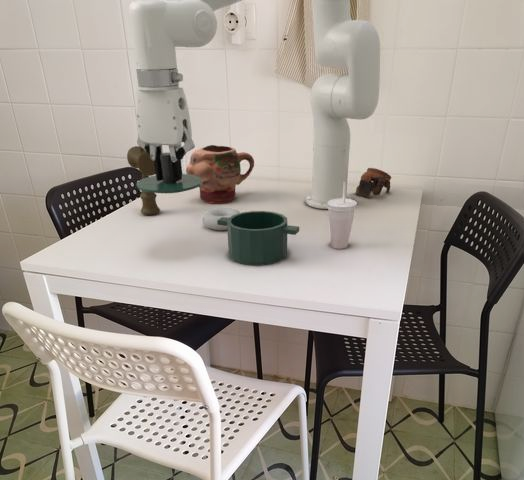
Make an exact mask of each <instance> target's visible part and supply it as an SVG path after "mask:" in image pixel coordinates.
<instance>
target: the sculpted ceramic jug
mask: <svg viewBox="0 0 524 480" xmlns="http://www.w3.org/2000/svg"><path fill="white" fill-rule="evenodd" d="M189 160H190V161H189V163H188V165H187V166H186V168H185V174H189V175H195V176H198V177H200V178H201V179H202V182H203V183H202V185H201V186H199V187H198V188H199V198H200V200H201V201H203V202H206V203H210V204H226V203H230V202H232V201H234V200H235V197H236V187H237V186H239V185H241V184H242V183H243V182H244V181H245V180H246V179H247V178H248V177H249V176H250V175H251V173H252V171H253V169H254V168H255V160H254V157H253V156H252V155H251V154H250V153H248V152H244V151H243V152H237V150H236V148H234V147H231V146H225V145H214V144H210V145H207V146H203V147H201V148H199V149H196V150H195V151H193V152H192V153H191V156H190V159H189ZM242 161H246V162H248V164H249V167H248V169H247V171H246V172H245V173H241V171H242V170H241V169H242V167H241V162H242Z"/></svg>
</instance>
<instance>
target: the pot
mask: <svg viewBox="0 0 524 480" xmlns="http://www.w3.org/2000/svg"><path fill="white" fill-rule="evenodd" d="M217 225H223V226H227V230H226V231H227V244H228V245H227V246H228V255H229V258H230V259H231V260H232V261H234V262H235V263H238V264H242V265H245V266H246V265H247V266H268V265H272V264H276V263H279V262H282V261H283V260H284V259H285V258H286V257H288V235H293V236H296V235H297V234H298V233H299V232H300V226H296V225H288V217H287V216H285V215H284V214H282V213H279V212H275V211H268V210H267V211H266V210H250V211H243V212H240V213H239V214H236V215H233V216H231V217H230V218H225V217H222V218H220V219H219V220H217Z"/></svg>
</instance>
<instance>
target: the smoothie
mask: <svg viewBox="0 0 524 480" xmlns="http://www.w3.org/2000/svg"><path fill="white" fill-rule="evenodd" d="M345 194H346V195H347V193H346V182H344V184H343V198H338V199H332V200H329V201H328V202H327V208H328V209H327V210H328V221H329V223H328V224H329V235H330V247H331V248H334V249H339V250H340V249H346V248H348V246H349V241H350V238H351V237H350V236H351V232H352V226H353V221H354V216H355V212H356V209H357V208H358V206H357V205H358V202H357V201H356V200H354V199H352V198H351V199H352V200H351V199H345Z"/></svg>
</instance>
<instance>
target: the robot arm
mask: <svg viewBox="0 0 524 480" xmlns="http://www.w3.org/2000/svg"><path fill="white" fill-rule="evenodd" d="M241 1H242V0H134V1H132V2H130V4H129V5H128V18H129V19H128V20H129V26H130V33H131V42H132V48H133V57H134V63H135V69H136V70H135V71H136V79H137V86H138V88H136V89H135V90H136V91H135V115H136V124H137V132H138V135H139V136H138V135H137V140H136V144H137V146H140V147H142V148H143V149H145V151H146V152H147V153H148V154H149V155H150V158H151V160H153V161H154V167H155V176H156V179H157V181H161V180H163V179H162V171H161V163H160V155H159V154H161V153H164V151H163V146H168V150H169V153H170V156H171V160H172V161H171V162H169V167H170V176H171V181H172V182H177V181H179V180H181V179H182V174H183V167H182V160H183V159H184V156H186V154H188V152H190V151H191V150H193V149H195V147H196V145H195V142H194V140H193V132H192V123H191V117H190V111H189V106H188V101H187V98H186V93H185V90H184V87H179V85H180V82H183V80H184V75H183V73H179V70H178V66H177V56H176V55H177V54H176V53H177V52H176V48H201V47H205V46H206V45H209V44H210V43H211V42H212V40H213V39H214V38H215V35H216V33H217V31H218V30H217V29H218V28H217V27H218V20H217V17H216V14H215V11H217V10H220V9H223V8H226V7H229V6H232V5H234V4H237V3H238V2H241ZM310 2H311V6H312V7H311V8H312V10H311V11H312V24H313V44H314V45H313V46H314V55H315V59H316V62H317V63H318V64H319V65H320V66H322V67H325V68H329V69H330V68H331V69H344V70H345V69H346V70H348V73H337V72H336V73H335V72H330V73H329V72H328V73H326V74H322V75H320V76H319V77H318V78H317V79H316V80H315V81H314V82H313V85H312V87H311V90H310V106H311V112H312V113H311V114H312V119H313V122H312V123H313V142H312V143H313V145H312V174H311V194H310V195H307V196H306V197H305V203H306V205H307V206H309V207H312V208H315V209H320V210H321V209H322V210H329V209H328V208H327V202H328V201H329V200H332V199H338V198H343V184H344V182H346V194H345V199H351V200H353V198H352V197H350V195H348V194H347V191H348V178H349V177H348V176H349V163H350V149H351V148H350V147H351V130H350V124H349V121H348V120H347V119H349V120H358V121H359V120H366V119H369V118H370V117H372V115H373V114H374V113H375V111H376V110H377V106H378V104H379V98H380V81H381V80H380V78H381V76H380V75H381V41H380V40H381V39H380V35H379V32H378V29H377V28H376V26H375V25H374V24H373V23H372V22H370V21H368V20H364V19H352V16H351V0H310ZM182 143H184V145H182Z"/></svg>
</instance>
